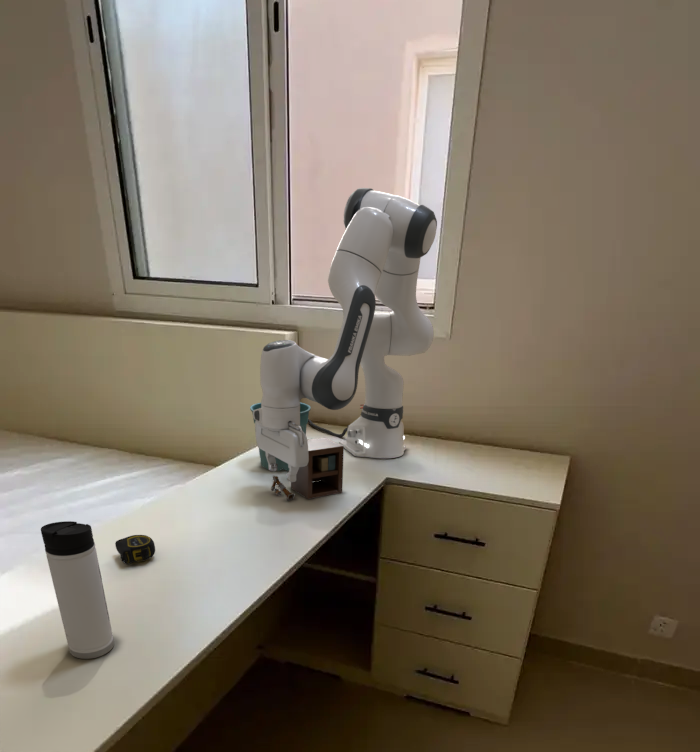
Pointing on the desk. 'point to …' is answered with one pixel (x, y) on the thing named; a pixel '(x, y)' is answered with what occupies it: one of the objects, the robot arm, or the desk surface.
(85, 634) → the travel mug
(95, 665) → the desk surface
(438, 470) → the desk surface
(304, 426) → the flower pot
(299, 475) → the shelf
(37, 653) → the desk surface
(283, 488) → the hinged wooden rods
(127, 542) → the tape measure
